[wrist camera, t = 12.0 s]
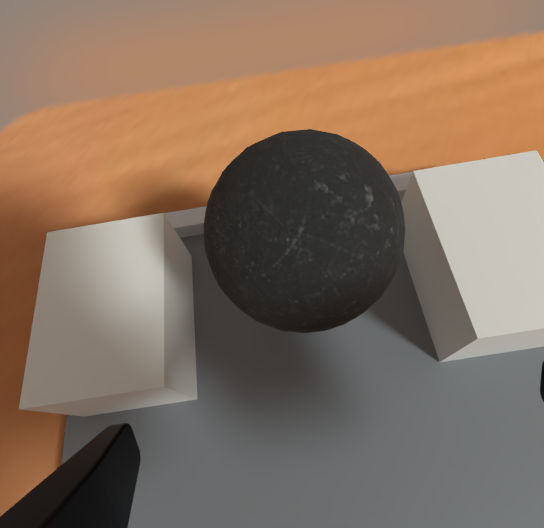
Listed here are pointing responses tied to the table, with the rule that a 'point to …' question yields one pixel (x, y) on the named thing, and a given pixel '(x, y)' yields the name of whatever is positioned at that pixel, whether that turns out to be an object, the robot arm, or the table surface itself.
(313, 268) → the black light bulb
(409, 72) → the table surface
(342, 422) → the board
